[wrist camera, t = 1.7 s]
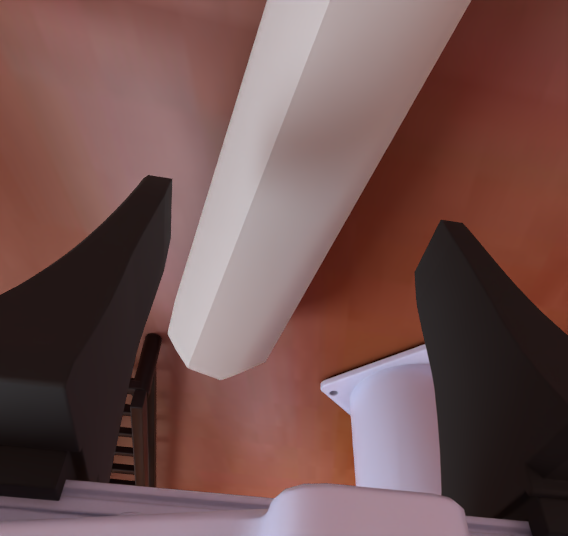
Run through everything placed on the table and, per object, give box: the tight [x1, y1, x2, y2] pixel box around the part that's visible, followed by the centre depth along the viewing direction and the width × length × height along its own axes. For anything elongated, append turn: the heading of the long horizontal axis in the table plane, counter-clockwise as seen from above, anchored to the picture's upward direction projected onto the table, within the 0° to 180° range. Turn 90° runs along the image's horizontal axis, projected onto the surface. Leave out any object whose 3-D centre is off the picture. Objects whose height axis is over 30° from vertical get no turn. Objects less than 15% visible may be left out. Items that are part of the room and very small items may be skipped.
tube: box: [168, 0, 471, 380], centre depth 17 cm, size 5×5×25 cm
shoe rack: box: [109, 334, 162, 488], centre depth 34 cm, size 10×22×4 cm, turn 170°
